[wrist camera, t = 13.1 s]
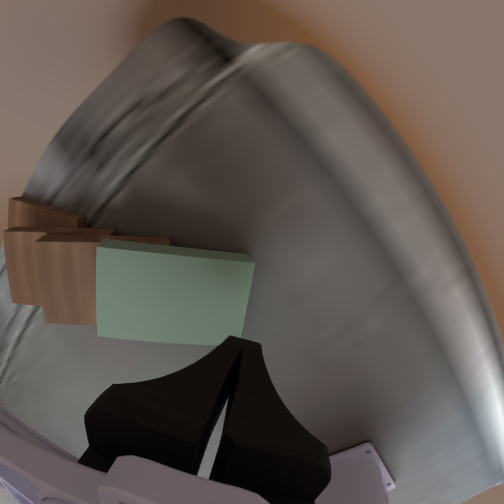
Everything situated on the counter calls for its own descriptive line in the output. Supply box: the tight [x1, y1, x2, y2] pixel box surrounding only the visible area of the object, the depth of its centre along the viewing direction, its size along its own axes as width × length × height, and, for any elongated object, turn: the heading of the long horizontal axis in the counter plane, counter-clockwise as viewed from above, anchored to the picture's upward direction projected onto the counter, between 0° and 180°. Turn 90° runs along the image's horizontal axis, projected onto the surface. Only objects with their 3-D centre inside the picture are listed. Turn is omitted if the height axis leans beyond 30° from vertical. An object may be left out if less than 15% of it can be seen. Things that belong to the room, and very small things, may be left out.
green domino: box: [96, 239, 256, 346], centre depth 16 cm, size 2×5×8 cm
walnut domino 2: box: [3, 227, 115, 306], centre depth 17 cm, size 2×5×8 cm
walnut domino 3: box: [34, 235, 170, 325], centre depth 16 cm, size 2×5×8 cm
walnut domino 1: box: [8, 197, 86, 229], centre depth 19 cm, size 2×5×8 cm
